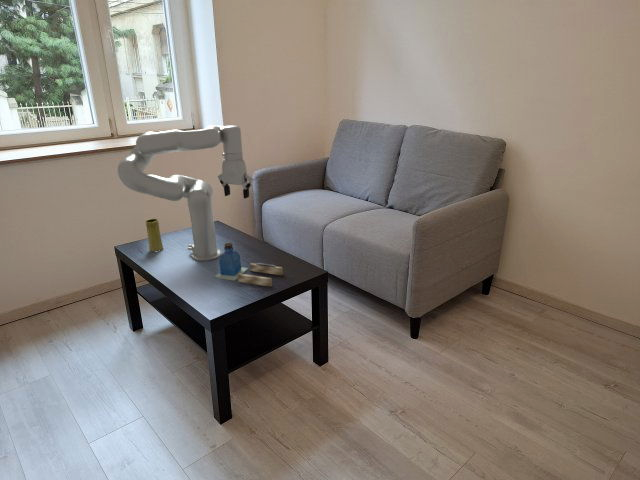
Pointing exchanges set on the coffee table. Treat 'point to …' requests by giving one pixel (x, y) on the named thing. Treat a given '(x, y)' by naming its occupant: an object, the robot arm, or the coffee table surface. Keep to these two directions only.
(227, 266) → the perfume bottle
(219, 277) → the mat
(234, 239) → the coffee table surface
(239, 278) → the cradle
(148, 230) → the vase
